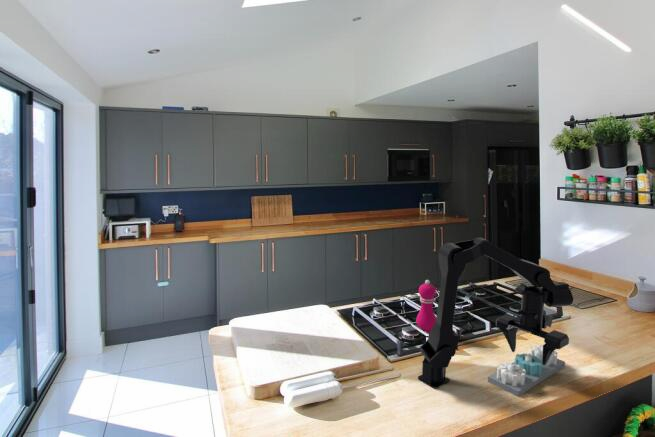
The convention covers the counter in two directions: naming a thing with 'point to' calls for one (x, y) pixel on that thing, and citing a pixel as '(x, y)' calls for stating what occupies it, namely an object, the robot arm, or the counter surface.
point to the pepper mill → (426, 307)
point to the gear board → (528, 378)
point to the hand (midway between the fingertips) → (528, 357)
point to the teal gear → (529, 364)
